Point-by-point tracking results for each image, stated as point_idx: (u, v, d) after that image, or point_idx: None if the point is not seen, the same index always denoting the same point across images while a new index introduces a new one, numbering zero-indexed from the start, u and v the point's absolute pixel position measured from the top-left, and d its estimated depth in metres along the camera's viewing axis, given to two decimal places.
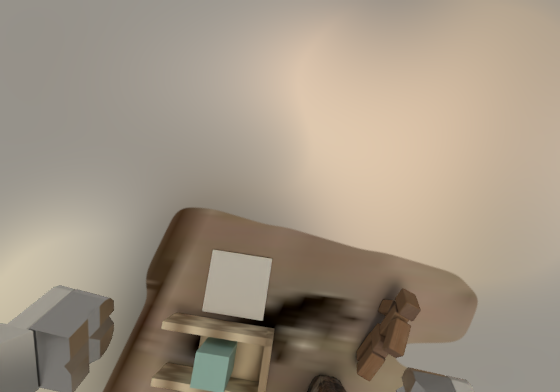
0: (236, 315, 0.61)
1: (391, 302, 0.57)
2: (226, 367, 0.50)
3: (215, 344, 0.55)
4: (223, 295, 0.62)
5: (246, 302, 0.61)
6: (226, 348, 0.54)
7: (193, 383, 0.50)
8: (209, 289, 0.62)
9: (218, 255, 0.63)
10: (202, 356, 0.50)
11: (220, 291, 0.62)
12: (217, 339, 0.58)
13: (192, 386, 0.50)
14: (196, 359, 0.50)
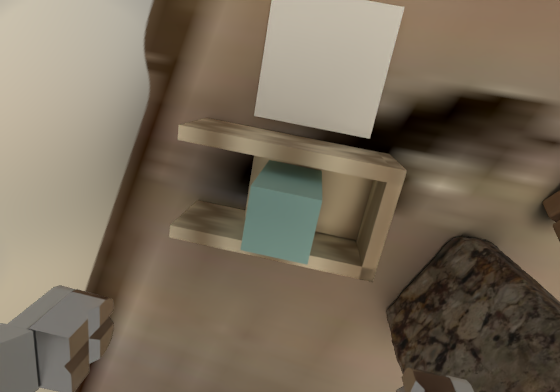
0: (319, 126, 0.32)
1: None
2: (315, 219, 0.24)
3: (285, 174, 0.28)
4: (294, 87, 0.31)
5: (339, 102, 0.31)
6: (308, 183, 0.27)
7: (248, 243, 0.25)
8: (267, 73, 0.31)
9: None
10: (265, 195, 0.24)
11: (289, 78, 0.31)
12: (285, 166, 0.31)
13: (245, 248, 0.25)
14: (252, 200, 0.24)
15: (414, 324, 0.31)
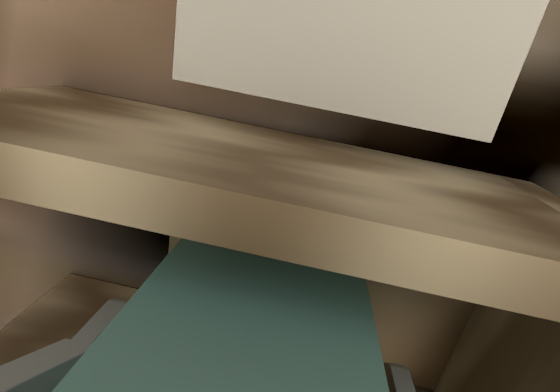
0: (350, 108, 0.12)
1: None
2: None
3: (242, 279, 0.08)
4: None
5: (413, 36, 0.11)
6: (326, 331, 0.07)
7: None
8: None
9: None
10: None
11: None
12: None
13: None
14: None
15: None
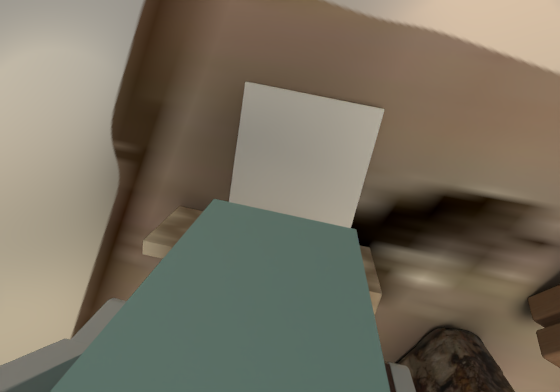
0: None
1: None
2: None
3: (242, 278, 0.08)
4: (269, 182, 0.29)
5: (316, 199, 0.29)
6: (326, 331, 0.07)
7: None
8: (240, 169, 0.29)
9: (258, 96, 0.27)
10: None
11: (263, 174, 0.29)
12: (254, 226, 0.10)
13: None
14: None
15: None
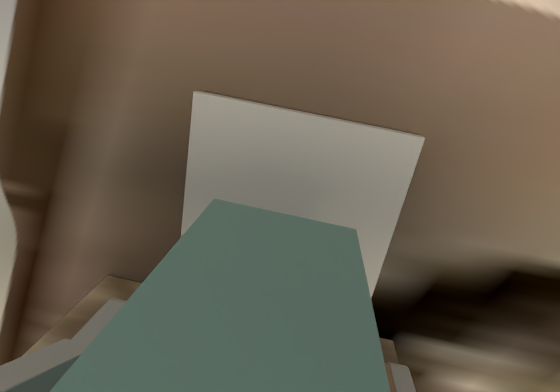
0: None
1: None
2: None
3: (242, 278, 0.08)
4: None
5: None
6: (326, 331, 0.07)
7: None
8: None
9: (215, 115, 0.16)
10: None
11: None
12: (254, 225, 0.10)
13: None
14: None
15: None
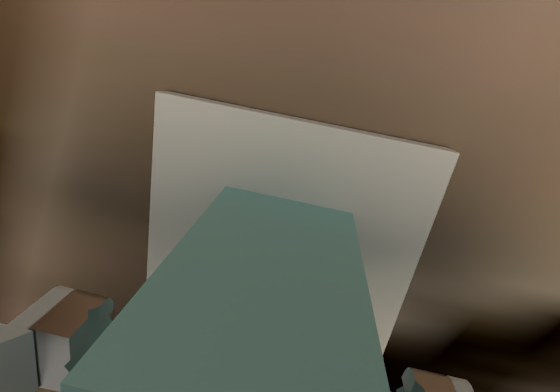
0: None
1: None
2: None
3: (254, 248, 0.09)
4: None
5: None
6: (326, 288, 0.08)
7: None
8: (161, 261, 0.15)
9: (185, 122, 0.13)
10: None
11: None
12: (262, 208, 0.12)
13: None
14: None
15: None
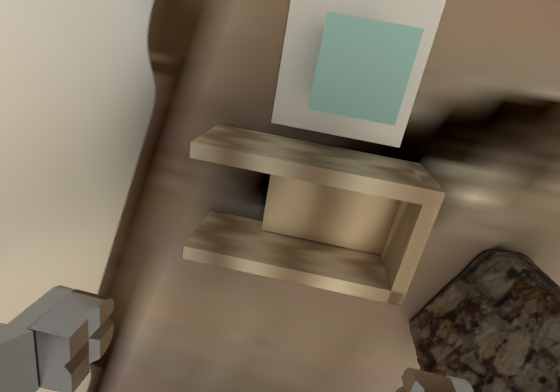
0: (343, 134, 0.29)
1: None
2: (411, 58, 0.18)
3: None
4: None
5: None
6: None
7: (318, 99, 0.19)
8: (286, 76, 0.28)
9: None
10: (346, 25, 0.18)
11: (311, 81, 0.28)
12: None
13: (314, 106, 0.19)
14: (327, 34, 0.18)
15: (442, 344, 0.30)
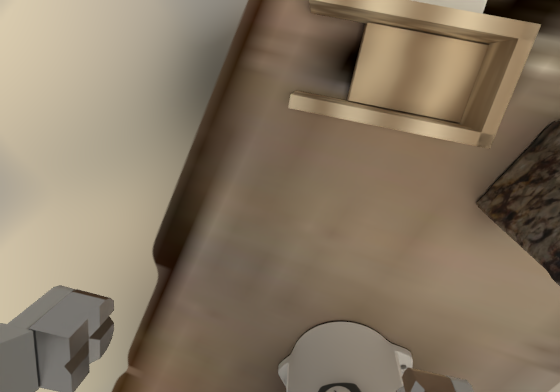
0: (431, 3, 0.32)
1: None
2: None
3: None
4: None
5: None
6: None
7: None
8: None
9: None
10: None
11: None
12: None
13: None
14: None
15: (519, 198, 0.32)
